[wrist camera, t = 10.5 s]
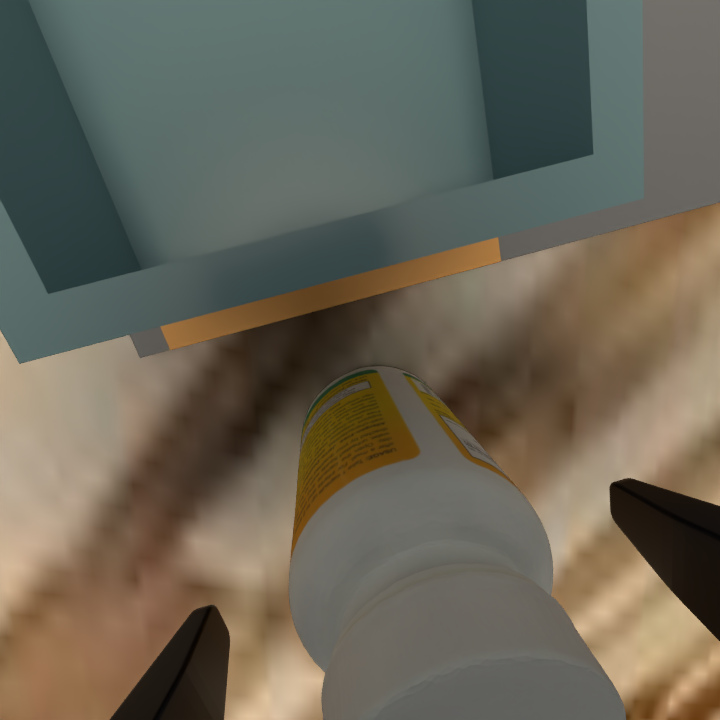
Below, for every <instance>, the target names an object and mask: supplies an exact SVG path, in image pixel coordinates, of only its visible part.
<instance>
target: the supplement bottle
mask: <svg viewBox="0 0 720 720" xmlns="http://www.w3.org/2000/svg"><path fill="white" fill-rule="evenodd" d="M552 584H553V561H552V554H551V549H550V544H549V540H548V537H547V534H546V532H545V530H544V527H543V525H542V523H541V521H540V519H539V517H538V515H537V514H536V512H535V510H534V509H533V507H532V506H531V504H530V503H529V502H528V500H527V499H526V498H525V496H524V495H523V494H522V493H521V492H520V490H519V489H518V488H517V487H516V486H515V485H514V483H513V482H512V481H511V480H510V479H509V477H508V476H507V475H506V474H505V473H504V472H503V471H502V469H501V468H500V467H499V466H498V465H497V464H496V463H495V461H494V460H493V459H492V458H491V457H490V456H489V454H488V453H487V452H486V451H485V450H484V449H483V447H482V446H481V445H480V444H479V443H478V442H477V441H476V440H475V438H474V437H473V436H472V435H471V434H470V433H469V432H468V430H467V429H466V428H465V427H464V426H463V424H462V423H461V422H460V421H459V420H458V419H457V418H456V417H455V415H454V414H453V413H452V412H451V411H450V409H449V408H448V407H447V406H446V405H445V404H444V402H443V401H442V400H441V399H440V398H439V397H438V396H437V395H436V394H435V393H434V392H433V391H432V390H431V388H430V387H429V386H428V385H427V384H425V383H424V382H423V381H422V380H420V379H419V378H418V377H416V376H414V375H412V374H410V373H408V372H406V371H403V370H400V369H397V368H392V367H387V366H373V367H364V368H359V369H356V370H353V371H351V372H349V373H347V374H345V375H342V376H341V377H339V378H338V379H336V380H334V381H333V382H331V383H330V384H329V385H328V386H326V387H325V388H324V389H323V390H322V391H321V392H320V393H319V394H318V396H317V397H316V398H315V399H314V401H313V402H312V404H311V406H310V408H309V409H308V412H307V414H306V417H305V420H304V424H303V430H302V437H301V449H300V458H299V470H298V482H297V495H296V507H295V519H294V529H293V540H292V549H291V560H290V571H289V602H290V609H291V613H292V618H293V622H294V625H295V628H296V631H297V633H298V635H299V637H300V639H301V641H302V643H303V645H304V647H305V649H306V650H307V652H308V653H309V655H310V656H311V657H312V659H313V660H314V662H315V663H316V664H317V665H318V666H319V667H320V668H321V669H322V670H323V671H324V672H325V677H324V682H323V688H322V712H323V720H626V714H625V709H624V705H623V702H622V700H621V698H620V696H619V694H618V692H617V690H616V688H615V687H614V685H613V683H612V682H611V680H610V679H609V677H608V676H607V674H606V673H605V671H604V670H603V668H602V667H601V665H600V664H599V663H598V661H597V660H596V658H595V657H594V655H593V654H592V652H591V651H590V649H589V648H588V647H587V645H586V644H585V642H584V641H583V639H582V638H581V636H580V635H579V633H578V632H577V630H576V629H575V627H574V625H573V623H572V621H571V620H570V618H569V616H568V615H567V613H566V612H565V610H564V609H563V608H562V606H561V605H560V604H559V603H558V601H557V600H556V599H554V598H553V597H552V596H551V592H552Z"/></svg>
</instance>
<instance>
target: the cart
mask: <svg viewBox="0 0 720 720" xmlns="http://www.w3.org/2000/svg"><path fill="white" fill-rule="evenodd" d="M640 199H644V129H643V3H642V0H0V330H1V332H2V334H3V335H4V337H5V339H6V341H7V342H8V344H9V346H10V348H11V349H12V351H13V353H14V355H15V357H16V358H17V360H18V362H19V364H21V363H24V362H28V361H32V360H36V359H39V358H43V357H47V356H51V355H55V354H58V353H62V352H66V351H70V350H73V349H77V348H81V347H85V346H89V345H92V344H96V343H100V342H104V341H107V340H111V339H115V338H119V337H123V336H126V335H130V334H134V333H138V332H141V331H145V330H149V329H153V328H157V327H160V326H164V325H168V324H172V323H175V322H179V321H183V320H187V319H191V318H194V317H198V316H202V315H206V314H209V313H213V312H217V311H221V310H225V309H228V308H232V307H236V306H240V305H243V304H247V303H251V302H255V301H259V300H262V299H266V298H270V297H274V296H277V295H281V294H285V293H289V292H293V291H296V290H300V289H304V288H308V287H311V286H315V285H319V284H323V283H327V282H330V281H334V280H338V279H342V278H345V277H349V276H353V275H357V274H361V273H364V272H368V271H372V270H376V269H379V268H383V267H387V266H391V265H395V264H398V263H402V262H406V261H410V260H414V259H417V258H421V257H425V256H429V255H432V254H436V253H440V252H444V251H448V250H451V249H455V248H459V247H463V246H466V245H470V244H474V243H478V242H482V241H485V240H489V239H493V238H497V237H500V236H504V235H508V234H512V233H516V232H519V231H523V230H527V229H531V228H534V227H538V226H542V225H546V224H550V223H553V222H557V221H561V220H565V219H568V218H572V217H576V216H580V215H584V214H587V213H591V212H595V211H599V210H602V209H606V208H610V207H614V206H618V205H621V204H625V203H629V202H633V201H636V200H640Z"/></svg>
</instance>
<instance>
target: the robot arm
mask: <svg viewBox="0 0 720 720" xmlns="http://www.w3.org/2000/svg"><path fill="white" fill-rule="evenodd" d="M610 510H611V515H612V518H613V520H614V521H615V523H616V524H617V526H618V527H619V528H620V529H621V530H622V532H623V533H624V534H625V535H626V537H627V538H628V539H629V540H630V541H631V543H632V544H633V545H634V546H635V547H636V549H637V550H638V551H639V552H640V554H641V555H642V556H643V557H644V558H645V560H646V561H647V562H648V563H649V565H650V566H651V567H652V568H653V569H654V571H655V572H656V573H657V574H658V576H659V577H660V578H661V579H662V580H663V582H664V583H665V584H666V585H667V586H668V587H669V588H670V590H671V591H672V592H673V593H674V594H675V595H676V596H677V597H678V598H679V599H680V600H681V602H682V603H683V604H684V605H685V606H686V607H687V608H688V609H689V610H690V611H691V612H692V613H693V614H694V615H695V616H696V617H697V618H698V619H699V620H700V621H701V622H702V623H703V624H704V625H705V626H706V628H707V629H708V630H709V631H710V632H711V633H712V634H713V635H714V636H715V637H716V638H717V639H718V640H719V641H720V506H718V505H714V504H711V503H708V502H705V501H702V500H699V499H695V498H692V497H689V496H686V495H683V494H679V493H676V492H673V491H670V490H667V489H663V488H660V487H657V486H654V485H651V484H647V483H644V482H641V481H638V480H635V479H631V478H627V479H623V480H619V481H616V482H613V483H612V484H611V485H610ZM229 649H230V636H229V631H228V629H227V627H226V625H225V623H224V621H223V619H222V617H221V615H220V613H219V610H218V609H217V607H216V606H215V605H208V606H205V607H201V608H198V609H196V610H194V611H193V612H192V613H191V614H190V615H189V617H188V618H187V619H186V621H185V622H184V623H183V625H182V626H181V627H180V628H179V630H178V631H177V632H176V634H175V635H174V636H173V638H172V639H171V640H170V641H169V643H168V644H167V645H166V647H165V648H164V649H163V651H162V652H161V653H160V655H159V656H158V657H157V658H156V660H155V661H154V662H153V664H152V665H151V666H150V668H149V669H148V670H147V671H146V673H145V674H144V675H143V677H142V678H141V679H140V681H139V682H138V683H137V685H136V686H135V687H134V688H133V690H132V691H131V692H130V694H129V695H128V696H127V698H126V699H125V700H124V702H123V703H122V704H121V705H120V707H119V708H118V709H117V711H116V712H115V713H114V715H113V716H112V717H111V718H110V720H224V713H225V700H226V687H227V674H228V661H229Z"/></svg>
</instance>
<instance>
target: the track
mask: <svg viewBox="0 0 720 720" xmlns="http://www.w3.org/2000/svg"><path fill="white" fill-rule="evenodd" d="M642 3H643V129H644V199H640V200H636V201H633V202H629V203H625V204H621V205H618V206H614V207H610V208H606V209H602V210H599V211H595V212H591V213H587V214H584V215H580V216H576V217H572V218H568V219H565V220H561V221H557V222H553V223H550V224H546V225H542V226H538V227H534V228H531V229H527V230H523V231H519V232H516V233H512V234H508V235H504V236H500V237H497V238H493V239H489V240H485V241H482V242H478V243H474V244H470V245H466V246H463V247H459V248H455V249H451V250H448V251H444V252H440V253H436V254H432V255H429V256H425V257H421V258H417V259H414V260H410V261H406V262H402V263H398V264H395V265H391V266H387V267H383V268H379V269H376V270H372V271H368V272H364V273H361V274H357V275H353V276H349V277H345V278H342V279H338V280H334V281H330V282H327V283H323V284H319V285H315V286H311V287H308V288H304V289H300V290H296V291H293V292H289V293H285V294H281V295H277V296H274V297H270V298H266V299H262V300H259V301H255V302H251V303H247V304H243V305H240V306H236V307H232V308H228V309H225V310H221V311H217V312H213V313H209V314H206V315H202V316H198V317H194V318H191V319H187V320H183V321H179V322H175V323H172V324H168V325H164V326H160V327H157V328H153V329H149V330H145V331H141V332H138V333H134V334H130V337H131V339H132V341H133V343H134V345H135V348H136V350H137V352H138V354H139V356H140V358H141V357H145V356H149V355H153V354H156V353H160V352H164V351H168V350H173V349H177V348H180V347H184V346H188V345H192V344H195V343H199V342H203V341H207V340H210V339H214V338H218V337H221V336H225V335H229V334H233V333H236V332H240V331H244V330H248V329H251V328H255V327H259V326H262V325H266V324H270V323H274V322H277V321H281V320H285V319H289V318H292V317H296V316H300V315H303V314H307V313H311V312H315V311H318V310H322V309H326V308H330V307H333V306H337V305H341V304H344V303H348V302H352V301H356V300H359V299H363V298H367V297H371V296H374V295H378V294H382V293H385V292H389V291H393V290H397V289H400V288H404V287H408V286H412V285H415V284H419V283H423V282H426V281H430V280H434V279H438V278H441V277H445V276H449V275H453V274H456V273H460V272H464V271H467V270H471V269H475V268H479V267H482V266H486V265H490V264H494V263H497V262H501V261H503V260H507V259H511V258H514V257H518V256H522V255H525V254H529V253H533V252H537V251H540V250H544V249H548V248H552V247H555V246H559V245H563V244H566V243H570V242H574V241H578V240H581V239H585V238H589V237H593V236H596V235H600V234H604V233H607V232H611V231H615V230H619V229H622V228H626V227H630V226H634V225H637V224H641V223H645V222H649V221H652V220H656V219H660V218H663V217H667V216H671V215H675V214H678V213H682V212H686V211H690V210H693V209H697V208H701V207H704V206H708V205H712V204H716V203H719V202H720V0H642Z"/></svg>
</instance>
